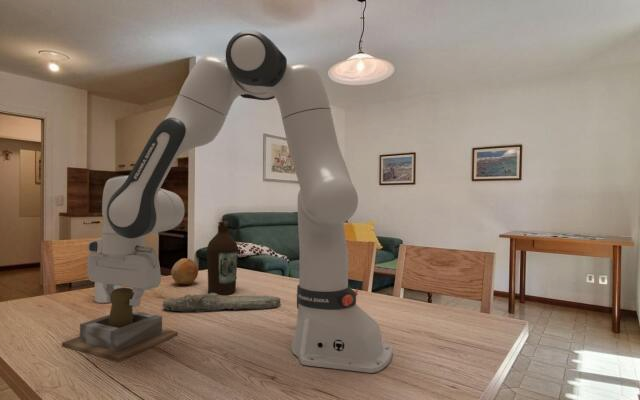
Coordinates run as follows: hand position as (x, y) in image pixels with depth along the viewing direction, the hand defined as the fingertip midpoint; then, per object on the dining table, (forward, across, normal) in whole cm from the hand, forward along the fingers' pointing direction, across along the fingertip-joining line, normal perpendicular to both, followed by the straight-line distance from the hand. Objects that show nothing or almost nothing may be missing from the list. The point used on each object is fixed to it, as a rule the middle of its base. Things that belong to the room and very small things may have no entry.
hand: (123, 304), depth 85 cm
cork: (+8, +1, 0) cm, 8 cm away
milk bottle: (+9, +33, -21) cm, 40 cm away
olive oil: (+9, +7, -45) cm, 46 cm away
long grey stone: (+9, -4, -31) cm, 33 cm away
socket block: (+8, 0, 0) cm, 9 cm away
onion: (+9, +27, -48) cm, 56 cm away
